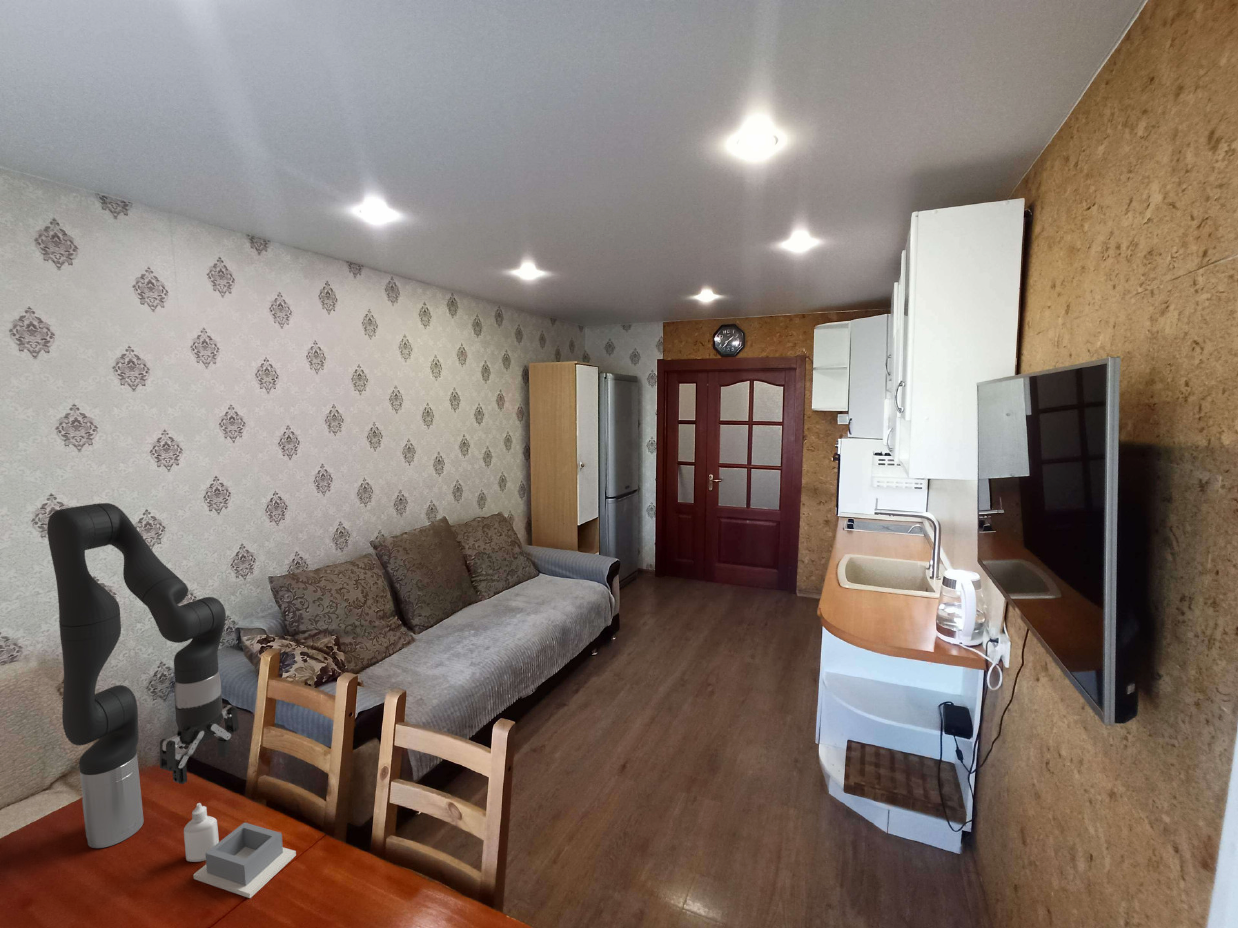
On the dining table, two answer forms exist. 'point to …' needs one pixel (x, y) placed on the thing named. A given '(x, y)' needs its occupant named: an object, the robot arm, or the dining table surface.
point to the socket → (245, 860)
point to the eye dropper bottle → (200, 834)
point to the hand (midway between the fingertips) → (203, 768)
